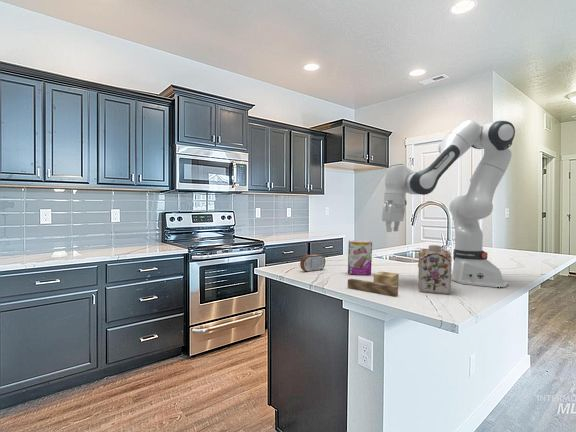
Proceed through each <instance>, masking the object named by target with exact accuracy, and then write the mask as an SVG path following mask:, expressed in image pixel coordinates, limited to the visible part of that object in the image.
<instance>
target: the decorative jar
mask: <svg viewBox="0 0 576 432" xmlns="http://www.w3.org/2000/svg"><path fill="white" fill-rule="evenodd" d="M452 261H453V259H452V253H451V252H450V251H449V250H446V249H442V245H437V244H432V245H428V248H422V249H419V252H418V264H417V267H418V273H417V274H418V276H417V277H418V278H417V279H418V291H419V293H428V294H429V293H431V294H440V295H451V292H452V280H451V275H452V271H453V268H452Z"/></svg>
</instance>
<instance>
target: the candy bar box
mask: <svg viewBox="0 0 576 432" xmlns="http://www.w3.org/2000/svg"><path fill="white" fill-rule="evenodd" d="M347 248H348V250H347V251H348V255H347V274H348V275H355V276H371V275H372V260H373V258H372V256H373V255H372V253H373V242H372V241H371V240H348V247H347Z"/></svg>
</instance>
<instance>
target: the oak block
mask: <svg viewBox="0 0 576 432" xmlns="http://www.w3.org/2000/svg"><path fill="white" fill-rule="evenodd" d="M372 282H376V283H382V284H388V285H394V286H399V273H397V272H396V273H395V272H389V271H379V272H376V273H374V274H373V281H372Z"/></svg>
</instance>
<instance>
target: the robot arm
mask: <svg viewBox="0 0 576 432" xmlns="http://www.w3.org/2000/svg"><path fill="white" fill-rule="evenodd" d="M515 135H516V128H515V126H514V124H513V123H512V122H510V121H507V120H498V121H492V122H491V121H490V122H486V123H484V124H481V125H480V124H479V122H477V121H475V120H472V119H467V120H464V121H462V122H461V123H459V124H458V125H456V126H455V127H454V128H453V129H451V131H449V132H448V133H447V134H446V135H445V136H444V137H443V138H442V140H441V141H440V143H439V144H438V148H437V150H438V152H439V154H438V156H437V157H436V158H435V159H434V160H433V161H431V163H430V164H429V165H428V167H426V168H424V169H422V170H421V169H420V170H419V171H415V170H412V169H411V168H410V167H408V166H407V165H406V164H404V163H397V164H393V165H390V166H389V167H388V168H387V170H386V173H385V181H384V185H385V191H384V195H383V207H382V213H381V221H382V222H385V226H386V232H387V233H392V230H393V232H399V226H400V224H401V222H404V220H405V219H404V218H405V214H406V213H405V212H406V206H407V203H408V202H407V201H408V200H406V194H409V195H423V196H425V195H429V194H431V193H433V191H434V190H435V189H436V187H437V184H438V182H439V180H440V178H441V177H442V176H443V175H444V174H445V172H447V170H448V169H450V167H451V166H453V165H452V164H454V163H455V162H456V161H457V160H458V159H459V158H461V157H462V156H463V155H464V154H465V153H466V152H467V151H468V150H469V149H471V147H472V148H473V149H475V150H483V155H482V158H481V160H480V161H479V163H478V165H477V166H476V168H475V169H474V172H473V174H472V175H471V178H470V179H469V182H470V184H469V188H468V190H467V193H466V194H465V195H458V196H457V197H455V198H453V200H451V202H450V204H449V210H450V213H451V216H452V221H453V226H454V227H453V228H454V235H455V237H454V249H453V251H452V252H453V259H452V260H453V266H452V270H451V281H454V282H456V283H459V284H462V285H469V286H477V287H487V288H488V287H490V288H497V287H499V288H500V287H503V288H506V287H508V286H507V285H508V281H506V280H505V279H504V280H503V276H502V272H501V270H500V268H499V267H498V266H496V265H495V264H494V263H492V262H491V261H490V260H488V252H487V251H485V250H483V241H484V240H483V239H484V233H483V231H482V229H481V226H480V223H479V220H483V219H486V218H487V217H489V216H490V215H491V214H492V212H493V210H494V209H493V208H494V206H493V205H494V204H493V199H494V195H495V193H496V190H497V188H498V186H499V184H500V182H501V180H502V179H503V177H504V174H505V173H506V172H507V170H508V167H509V164H510V162H511V160H512V156H513V153H512V150H511V149H510V147H511V146H512V145H513V141H514V139H515ZM392 224H394V226H393V228H392ZM499 288H498V289H499ZM500 289H501V288H500Z"/></svg>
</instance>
